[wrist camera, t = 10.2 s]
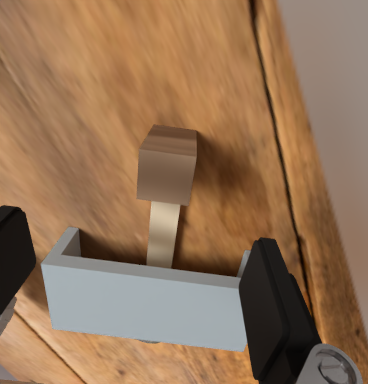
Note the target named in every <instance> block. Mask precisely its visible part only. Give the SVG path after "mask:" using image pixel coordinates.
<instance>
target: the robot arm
mask: <svg viewBox="0 0 368 384" xmlns="http://www.w3.org/2000/svg"><path fill="white" fill-rule="evenodd" d="M35 264H36V256H35V252H34V247H33V243H32V239H31V235H30V231H29V226H28V222H27V218H26V214H25V212H23V211H22V210H21V208H19V207H14V206H6V205H3V206H1V207H0V316H1V315H2V313H3V312H4V310H5V309H6V307H7V306H8V305H9V303H10V302H11V300H12V299H13V297H14V296H15V294H16V293H17V292H18V290H19V289H20V287H21V286H22V284H23V283H24V282H25V280H26V279H27V277H28V276H29V274H30V273H31V271H32V270H33V269H34V267H35ZM239 296H240V302H241V308H242V314H243V320H244V326H245V331H246V337H247V343H248V349H249V355H250V361H251V367H252V372H253V377H254V379H255V380H258V381H259V384H363V381H362V377H361V374H360V372H359V370H358V368H357V366H356V365H355V363H354V362H353V361H352V360H351V359H350V357H349V356H347V355H346V354H345V353H344V352H343V351H341V350H340V349H338V348H336V347H335V346H332V345H329V344H322V341H321V339H320V337H319V334H318V332H317V329H316V327H315V325H314V322H313V320H312V317H311V315H310V312H309V310H308V308H307V305H306V303H305V300H304V298H303V296H302V293H301V291H300V288H299V286H298V284H297V281H296V279H295V277H294V276H293V275H292V274H289V272H288V270H287V267H286V265H285V262H284V260H283V257H282V255H281V252H280V250H279V247H278V245H277V242H276V240H275V239H270V238H262V237H261V238H259V240H258V241H257V240H255V241H254V244H253V246H252V249H251V252H250V255H249V257H248V260H247V263H246V266H245V268H244V271H243V274H242V277H241V280H240V282H239ZM0 384H42V383H32V382H21V381H11V380H1V379H0Z"/></svg>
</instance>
